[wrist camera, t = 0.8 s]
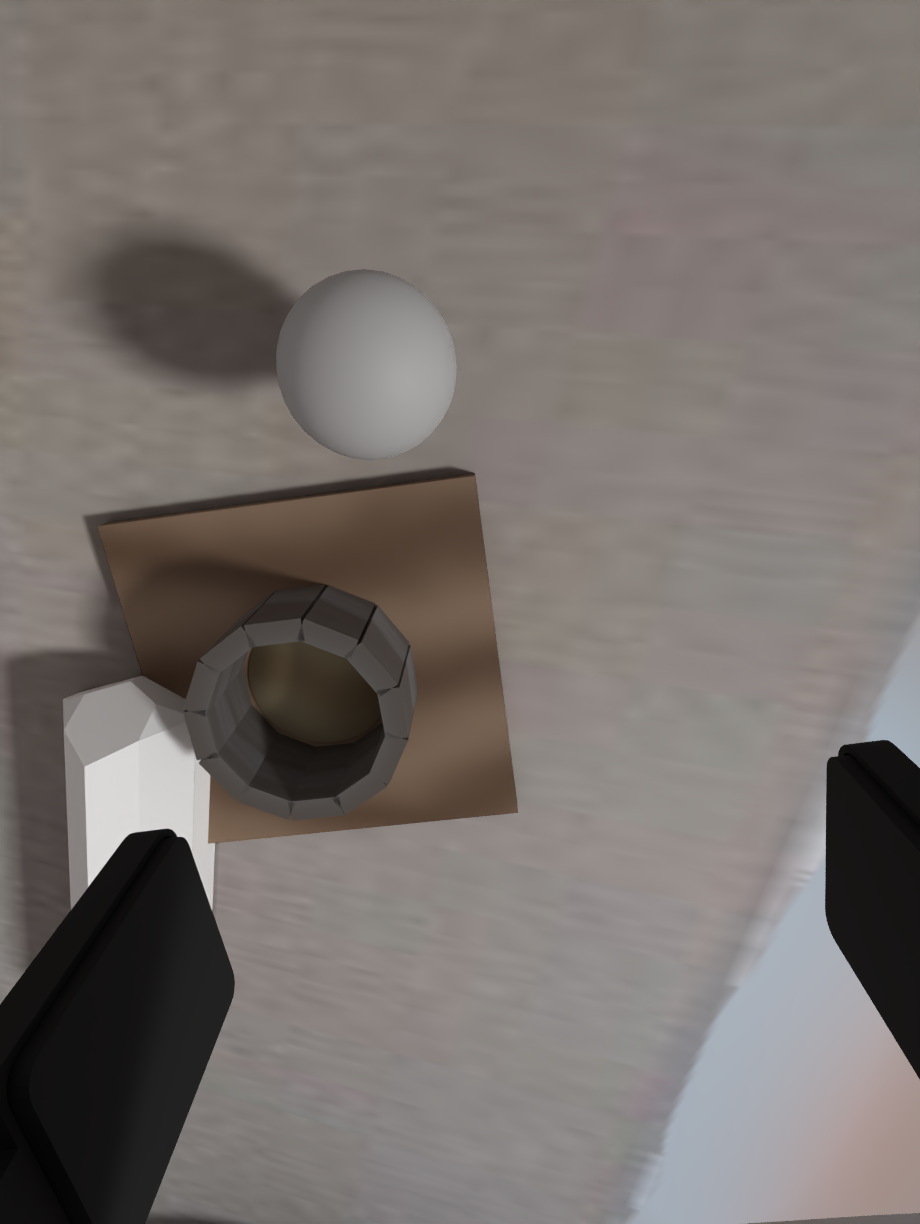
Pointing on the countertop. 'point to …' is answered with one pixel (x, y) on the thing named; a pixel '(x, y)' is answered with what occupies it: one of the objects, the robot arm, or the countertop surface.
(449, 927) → the countertop surface
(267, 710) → the socket
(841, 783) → the robot arm
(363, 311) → the lightbulb
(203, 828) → the crystal
